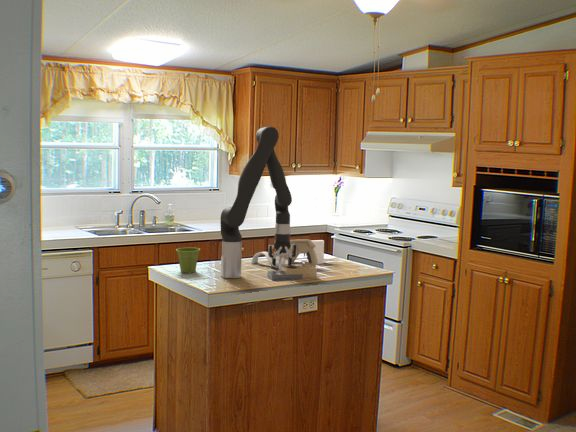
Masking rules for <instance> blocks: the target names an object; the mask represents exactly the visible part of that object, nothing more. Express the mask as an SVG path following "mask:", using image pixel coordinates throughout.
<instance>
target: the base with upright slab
mask: <svg viewBox="0 0 576 432" xmlns="http://www.w3.org/2000/svg"><path fill="white" fill-rule="evenodd" d="M310 240H311V239H310ZM311 241H312V242H313V243H314V244H315V245H316V246H315V247H314V251H315V254H316V257H317V260H318V261H317V264H318V265H321V264H324V261H325V260H324V259H325V258H324V257H325V240H323V239H317V240H316V239H315V240H311ZM309 245H310V244H309ZM310 246H311V245H310ZM306 262H309V261H308V259H307V258H306ZM317 264H316V265H317Z"/></svg>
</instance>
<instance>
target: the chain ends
mask: <svg viewBox="0 0 576 432" xmlns="http://www.w3.org/2000/svg"><path fill="white" fill-rule="evenodd" d="M317 269H318V268H317V267H314V266H312V265H293V264H292V265H290V266H281V271H279V270H270V271H267V272H266V273H267V275H266V277H267V278H268V279H269V280H271V281H289V280H290V281H291V280H292V281H293V280H315V279H317V272H318V270H317Z"/></svg>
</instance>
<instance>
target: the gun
mask: <svg viewBox="0 0 576 432" xmlns="http://www.w3.org/2000/svg"><path fill="white" fill-rule="evenodd" d="M273 242H274V244H275V239H274V240H273ZM274 244H273V245H274ZM290 244H291V245H293V244H295V245H296V256H295V257H292V264H291V265H312V266H314V267H315V268H317V261H318V260H317V257H316V254H315V251H314V247H315V246H316V245H315V244H314V243H313V242H312V241H311V239H290ZM309 244H310V245H311V246H310V245H309ZM289 252H290V254H292V248H291V247H290V248H289ZM300 254H303V257H306V260H307V259H308V261H309V262H307V261H296V260H297V259H298V257H299V256H300ZM277 256H279V255H277ZM288 258H289V256H288V255H287V253H286V256H285V259H287V260H288Z"/></svg>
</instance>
